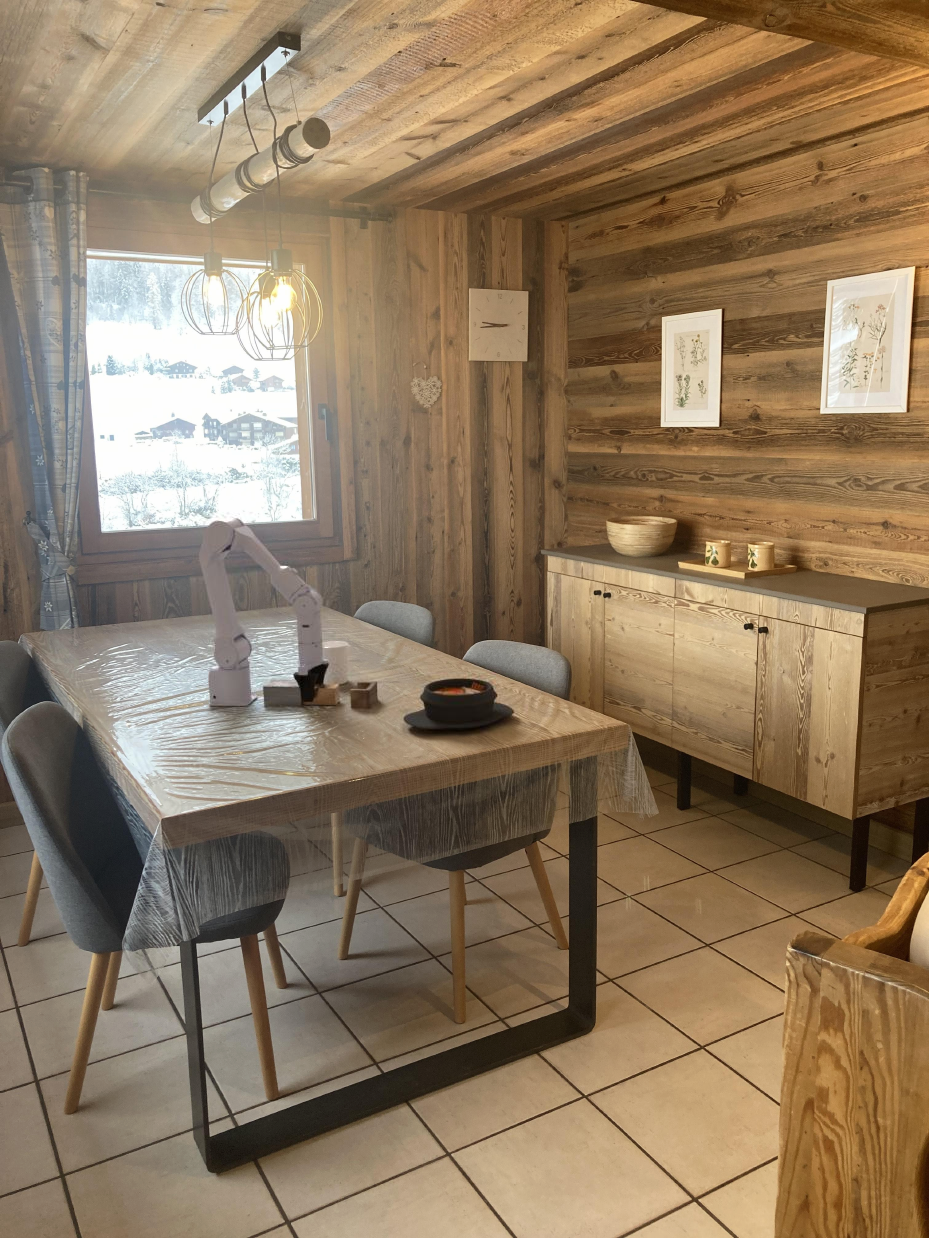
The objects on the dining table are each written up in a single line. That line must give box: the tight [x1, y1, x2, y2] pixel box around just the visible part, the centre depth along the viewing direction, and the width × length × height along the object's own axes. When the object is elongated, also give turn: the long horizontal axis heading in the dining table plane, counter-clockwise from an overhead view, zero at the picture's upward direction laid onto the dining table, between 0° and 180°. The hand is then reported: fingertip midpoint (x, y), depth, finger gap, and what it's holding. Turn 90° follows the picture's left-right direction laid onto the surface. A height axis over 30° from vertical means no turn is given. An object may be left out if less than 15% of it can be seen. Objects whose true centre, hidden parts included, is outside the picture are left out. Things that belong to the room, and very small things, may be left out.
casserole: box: [403, 677, 515, 731], centre depth 214 cm, size 25×19×8 cm
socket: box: [349, 680, 379, 710], centre depth 231 cm, size 5×8×4 cm, turn 173°
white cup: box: [322, 640, 349, 685], centre depth 252 cm, size 8×8×10 cm
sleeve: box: [262, 679, 303, 708], centre depth 234 cm, size 9×7×5 cm
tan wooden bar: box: [301, 684, 341, 706], centre depth 233 cm, size 16×4×4 cm, turn 83°
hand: (312, 697), depth 233 cm, fingers open, 7 cm apart
